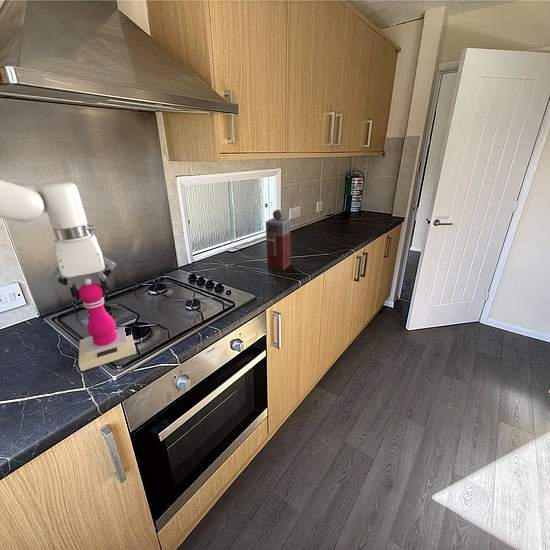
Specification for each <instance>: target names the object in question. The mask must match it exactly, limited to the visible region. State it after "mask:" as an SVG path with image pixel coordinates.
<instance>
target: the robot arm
mask: <svg viewBox="0 0 550 550" xmlns="http://www.w3.org/2000/svg"><path fill="white" fill-rule="evenodd" d="M43 213H46V214H47V216H48V219H49V222H50V225H51V228H52V231H53V234H54V238H55V239H53V248H54V254H55V258H56V262H57V265H56V267H54V269H53V270H52V272H51V273H50V274H49V279H50V280H52V281H55V282H58V283H59V284H61V285H64V286H66V287H67V288H68V289H69V291H70V294H71V297H72V298H75V301H80V300H81V299H80V298H79V295H78V290H79V288H78V286H77V283H76V282H75V281H74V280H75V277H81V276H86V275H87V276H88V275H91V274H96V275H97V276H98V277H99V278H100V279H99V280H100V285H101V287H102V289H103V295H107V294H108V293H107V290H108V291H109V289H110V288H109V284H108V281H107V279H108V278H109V276H110V275H111V273H112V272H113V271H114V269H115V268H116V267H117V263H116V262H114V261H113V260H111V259H109V258H107V257H105V256H104V255H103V253H102V250H101V247H100V243H99V242H98V239H97V237H96V235H95V234H94V233H92V232H93V231H96V226H95V224H92V225H91V224H89V223H88V221H87V216H86V213H85V210H84V205H83V203H82V199H81V196H80V192H79V190H78V186H77V185H76V184H75V183H74V182H71V181H52V182H45V183H38V184H37V183H12V182H8V181H6V180H3V179H0V218H1V219H5V220H9V221H13V222H14V221H15V222H21V223H23V222H24V223H25V222H26V223H27V222H32V221H35V220H37V219H38V218H40V217H41V216H42V214H43ZM105 265H107V266H108V267H107V268H106V266H105ZM59 274H61V275H59Z"/></svg>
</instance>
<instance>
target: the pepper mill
mask: <svg viewBox="0 0 550 550" xmlns="http://www.w3.org/2000/svg"><path fill="white" fill-rule="evenodd" d="M78 295H79V298H80V299H79V300H81V301H82V304H83V307H84V308H86V309H87V313H88V320H87V327H86V330H87V333H88V335H89V337H90V336H92V337H93V338H92V339H93V342H94V344H95V345H97V346H104V345H108V344H110V343H112V342H114V341H115V340H116V339H117V333H116V331H115V329H117V328H116V327H117V324H116V321H115V319H114V318H113V317H112V315H110V314H109V313H108V312H107V310H106V309H105V305H104V304H105V299H104V297H103V295H104V292H103V289H102V286H101V284H100V283H98V282H92V280H91V278H85V279H83V284H82V285H81V286H80V287H79V288H78Z"/></svg>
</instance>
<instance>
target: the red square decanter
mask: <svg viewBox="0 0 550 550" xmlns="http://www.w3.org/2000/svg"><path fill="white" fill-rule="evenodd" d="M272 217H273V218H270V219H268V220H267V221H265V235H266V236H265V239H266V240H265V241H266V260H267V261H266V263H267V269H272V270H279V271H285V270H286V269H287V268H288V267H290V265H292V264H291V263H292V262H291V219H290V218H287V217H284V213H283V211H282V210H281V209H276V210H274V211H273V212H272ZM283 217H284V218H283Z"/></svg>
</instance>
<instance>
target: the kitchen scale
mask: <svg viewBox="0 0 550 550" xmlns="http://www.w3.org/2000/svg"><path fill="white" fill-rule="evenodd" d="M125 327H126V326H123V327H119V328H115V331H116V333H117V339H116V340H115V341H114V342H112V343H110V344H108V345H104V346H97V345H95V344H94V342H93V339H92V338H93V337H92V336H90V335H89V336H86V337H84V338H83V339H80V340H79V346H78V347H79V350H78V367H79V370H80V372H83V371H86V370H89V369H94V368H96V367H99V366H102V365H106V364H109V363H111V362H115V361H118V360H121V359H123V358H128V357H130V356H133V355H136V354H137V350H136V346H135V341H134V337H133V333H132V334H131V335H129V336H126V332H125Z"/></svg>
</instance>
